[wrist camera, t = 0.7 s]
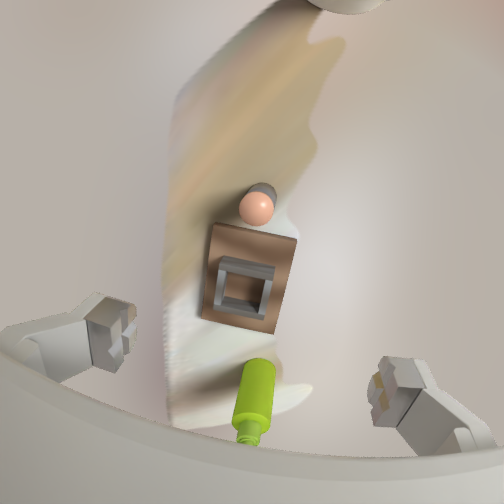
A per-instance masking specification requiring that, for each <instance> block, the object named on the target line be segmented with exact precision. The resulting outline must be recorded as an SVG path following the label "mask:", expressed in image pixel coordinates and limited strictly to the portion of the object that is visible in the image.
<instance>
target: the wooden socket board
mask: <svg viewBox="0 0 504 504" xmlns="http://www.w3.org/2000/svg"><path fill="white" fill-rule="evenodd" d="M296 244H297V239H295V238H290V237H285V236H281V235H276V234H271V233H266V232H262V231H257V230H252V229H247V228H242V227H237V226H232V225H227V224H222V223H217V222H215V223H214V225H213V230H212V237H211V244H210V251H209V259H208V266H207V274H206V282H205V290H204V298H203V307H202V315H201V319H205V320H209V321H214V322H218V323H222V324H227V325H231V326H235V327H240V328H245V329H249V330H254V331H259V332H263V333H268V334H273V335H274V331H275V327H276V324H277V319H278V316H279V312H280V308H281V304H282V301H283V297H284V293H285V289H286V285H287V281H288V277H289V273H290V269H291V265H292V260H293V256H294V252H295V248H296Z"/></svg>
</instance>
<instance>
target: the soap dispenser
mask: <svg viewBox="0 0 504 504" xmlns="http://www.w3.org/2000/svg"><path fill="white" fill-rule="evenodd" d="M275 374H276V369H275V366H274V365H273V364H272V363H271V362H270V361H268V360H265V359H261V358H256V359H252V360H249V361H248V362H247V363H246V364H245V365H244V368H243V373H242V377H241V382H240V386H239V391H238V395H237V400H236V404H235V409H234V413H233V417H232V425H233V427H234V428H235V429H236V430H238V434H237V440H236V441H237V443H242V444H247V445H252V446H258V445H259V442H260V436H261V434H263V433H265V432H267V431H268V430H269V428H270V423H271V414H272V404H273V395H274V385H275Z"/></svg>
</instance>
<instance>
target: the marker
mask: <svg viewBox="0 0 504 504" xmlns="http://www.w3.org/2000/svg"><path fill="white" fill-rule="evenodd" d="M276 199H277V195H276V192H275V190H274V188H273V187H272V186H271V185H269V184H267V183H257V184H255V185H254V186H252V187H251V189H250V190H249V191H248V193H247V194H246V195H245V196H244V198H243V199H242V200H241V202H240V205H239V213H240V216H241V218H242V219H243V220H244V221H245V222H246V223H247V224H249V225H252V226H261V225H264V224H266V223H267V222H268V221H269V220H270V219H271V217H272V215H273V211H274V207H275V203H276Z"/></svg>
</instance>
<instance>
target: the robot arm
mask: <svg viewBox="0 0 504 504" xmlns="http://www.w3.org/2000/svg"><path fill="white" fill-rule="evenodd" d="M307 1H309V2H310V3H312V4H314V5H315V6H317V7H319V8H322V9H324V10H327V11H330V12H335V13H339V14H361V13H365V12H368V11H371V10H373V9H374V8H376V7H378V6H379V5H380V4H381V3H383V2H385V1H388V0H307ZM136 316H137V315H136V306H135V305H134V304H132V303H129V302H126V301H122V300H119V299H116V298H113V297H110V296H107V295H104V294H100V293H92V294H91V295H90V296H89V297H88V298H87V299H85V300H84V301H83V302H82V303H81V304H80V305H79V306H77V308H75V309H74V310H73V311H72V312H71V313H70V314H68V313H62V314H58V315H54V316H49V317H45V318H41V319H37V320H33V321H29V322H25V323H20V324H17V325H12V326H8V327H6V328H5V329H4V330H3V331H1V332H0V504H504V446H500V447H498V446H497V444H496V442H495V440H494V438H493V436H492V434H491V431H490V429H489V428H488V425H487V424H486V423H484V422H483V421H482V420H481V419H479V418H478V417H477V416H475V415H474V414H473V413H472V412H470V411H469V410H468V409H467V408H465V407H464V406H463V405H461V404H460V403H459V402H457V401H456V400H455V399H454V398H452V397H451V396H450V395H449V394H447V393H446V392H445V391H443V390H439V389H438V386H437V384H436V382H435V380H434V378H433V376H432V374H431V372H430V370H429V368H428V366H427V364H426V362H425V361H424V360H423V359H412V358H410V359H409V358H397V357H389V356H383V358H382V359H381V360H380V362H379V364H378V368H379V372H377V373H376V374H374V375H373V376H372V378H371V380H370V382H369V386H368V390H367V391H368V392H367V393H368V394H367V397H368V402H369V403H370V404H371V405H372V406H373V409H372V410H371V416H372V420H373V425H374V426H377V427H392V428H396V430H397V431H398V432H399V433H400V434H401V436H402V437H403V438H404V439H405V440H406V442H407V443H408V444H409V445H410V447H411V448H412V449H413V450H414V451H415V453H416V454H417V455H418V456H416V457H380V458H379V457H377V458H376V457H347V456H331V455H318V454H309V453H299V452H292V451H284V450H276V449H270V448H264V447H258V446H252V445H247V444H242V443H237V442H232V441H227V440H222V439H218V438H213V437H209V436H205V435H201V434H197V433H193V432H190V431H186V430H182V429H179V428H175V427H172V426H169V425H165V424H162V423H159V422H156V421H152V420H149V419H146V418H143V417H140V416H137V415H135V414H132V413H129V412H126V411H124V410H121V409H118V408H116V407H113V406H110V405H108V404H105V403H103V402H100V401H98V400H95V399H92V398H91V397H88V396H86V395H84V394H81V393H79V392H77V391H75V390H72V389H70V388H68V387H66V386H64V385H62V384H60V382H62V381H64V380H67V379H68V378H71V377H72V376H75V375H77V374H79V373H81V372H83V371H85V370H87V369H89V368H91V367H92V366H95V367H98V368H100V369H103V370H106V371H109V372H112V373H116V372H117V370H118V369H119V367H120V366H121V364H122V363H123V361H124V357H123V355H126V354H128V353H130V352H131V350H132V349H133V347H134V344H135V341H136V336H137V327H136V325H135V323H134V322H133V320H134V318H135V317H136Z"/></svg>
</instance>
